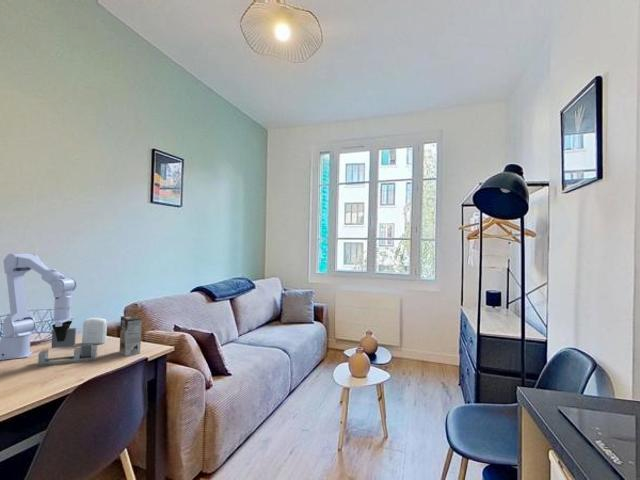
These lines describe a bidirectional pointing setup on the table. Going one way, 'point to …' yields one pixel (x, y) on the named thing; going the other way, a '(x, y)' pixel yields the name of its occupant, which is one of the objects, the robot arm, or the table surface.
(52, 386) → the table surface
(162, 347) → the table surface
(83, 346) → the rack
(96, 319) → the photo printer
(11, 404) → the table surface
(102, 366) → the table surface
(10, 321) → the robot arm
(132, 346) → the coffee box
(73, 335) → the panel
